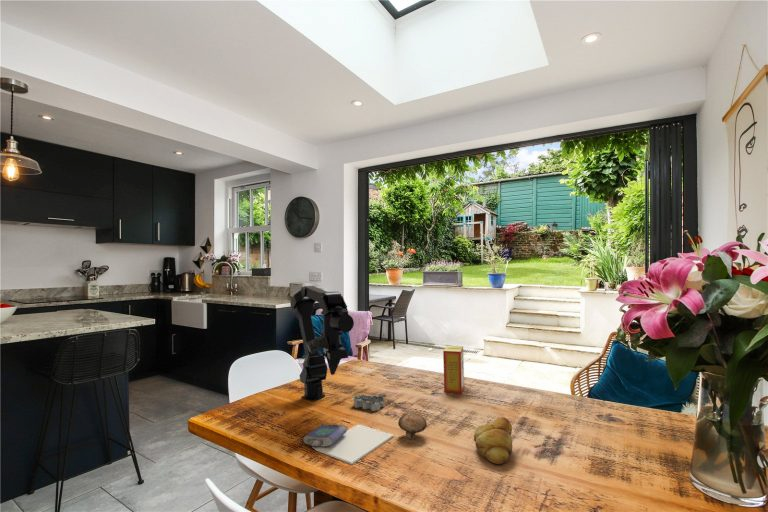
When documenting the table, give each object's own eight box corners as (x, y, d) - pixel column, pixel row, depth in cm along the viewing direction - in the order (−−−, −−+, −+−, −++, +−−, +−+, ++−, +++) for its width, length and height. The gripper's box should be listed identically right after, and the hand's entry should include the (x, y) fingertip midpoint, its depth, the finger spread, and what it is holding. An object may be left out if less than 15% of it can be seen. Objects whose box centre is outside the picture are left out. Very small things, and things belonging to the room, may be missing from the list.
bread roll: (514, 470, 88) (513, 436, 89) (472, 465, 91) (471, 431, 91) (512, 445, 101) (511, 415, 101) (475, 440, 104) (474, 411, 104)
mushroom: (407, 446, 101) (407, 422, 101) (393, 434, 108) (392, 412, 108) (432, 439, 105) (431, 416, 105) (416, 428, 112) (416, 407, 112)
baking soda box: (461, 393, 141) (460, 350, 142) (444, 392, 143) (443, 349, 144) (464, 385, 150) (463, 345, 151) (447, 384, 152) (446, 344, 153)
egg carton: (387, 406, 131) (387, 394, 131) (375, 413, 125) (375, 401, 125) (363, 400, 137) (363, 389, 137) (350, 407, 131) (350, 395, 131)
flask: (347, 424, 107) (328, 440, 97) (348, 435, 107) (329, 451, 97) (319, 423, 111) (298, 438, 101) (320, 433, 111) (299, 449, 101)
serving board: (315, 450, 100) (315, 448, 100) (358, 425, 115) (358, 424, 115) (351, 464, 92) (351, 462, 92) (393, 436, 107) (393, 434, 107)
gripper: (302, 326, 134) (303, 370, 133) (314, 335, 117) (315, 385, 116) (333, 324, 138) (334, 366, 138) (348, 332, 121) (349, 380, 121)
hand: (332, 374), depth 128 cm, fingers closed
